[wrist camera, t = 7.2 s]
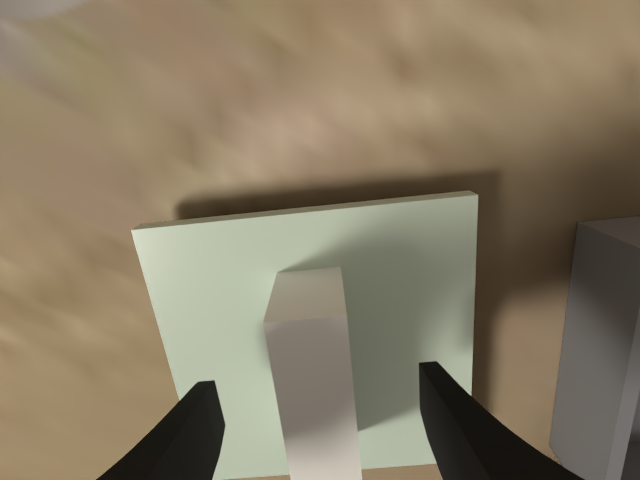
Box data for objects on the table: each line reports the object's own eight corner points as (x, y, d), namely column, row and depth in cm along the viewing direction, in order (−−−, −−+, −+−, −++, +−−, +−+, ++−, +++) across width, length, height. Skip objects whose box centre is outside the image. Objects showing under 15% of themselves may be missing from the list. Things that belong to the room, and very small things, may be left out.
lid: (455, 428, 18) (505, 546, 13) (213, 448, 19) (173, 568, 14) (459, 185, 14) (533, 222, 9) (152, 216, 15) (67, 268, 10)
